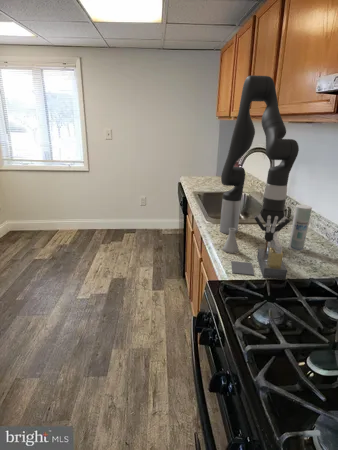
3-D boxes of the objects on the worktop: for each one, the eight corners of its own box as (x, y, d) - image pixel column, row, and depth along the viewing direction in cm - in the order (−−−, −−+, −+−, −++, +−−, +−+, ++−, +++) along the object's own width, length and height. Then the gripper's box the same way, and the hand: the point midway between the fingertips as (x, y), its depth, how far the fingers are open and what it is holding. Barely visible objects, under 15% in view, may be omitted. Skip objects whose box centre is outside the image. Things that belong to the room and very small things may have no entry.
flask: (227, 245, 138) (229, 225, 135) (241, 250, 134) (244, 229, 130) (218, 250, 133) (221, 229, 129) (233, 255, 128) (236, 233, 125)
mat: (231, 261, 122) (231, 260, 122) (251, 263, 121) (251, 262, 121) (232, 273, 112) (232, 272, 112) (254, 275, 111) (254, 274, 111)
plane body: (257, 257, 127) (260, 235, 124) (276, 259, 126) (280, 237, 123) (262, 277, 110) (266, 253, 107) (285, 280, 109) (290, 255, 106)
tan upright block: (267, 260, 115) (269, 247, 113) (278, 261, 114) (280, 248, 112) (269, 266, 110) (271, 253, 108) (280, 267, 109) (283, 254, 108)
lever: (266, 237, 121) (268, 227, 120) (275, 237, 121) (277, 228, 119) (273, 252, 106) (275, 242, 105) (283, 253, 106) (285, 242, 105)
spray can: (301, 246, 140) (309, 205, 134) (305, 252, 134) (313, 209, 127) (286, 245, 141) (294, 204, 134) (289, 250, 135) (297, 207, 128)
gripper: (291, 195, 110) (284, 239, 116) (254, 192, 112) (249, 236, 118) (296, 200, 103) (288, 246, 109) (257, 197, 105) (251, 243, 111)
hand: (268, 241), depth 113 cm, fingers closed
